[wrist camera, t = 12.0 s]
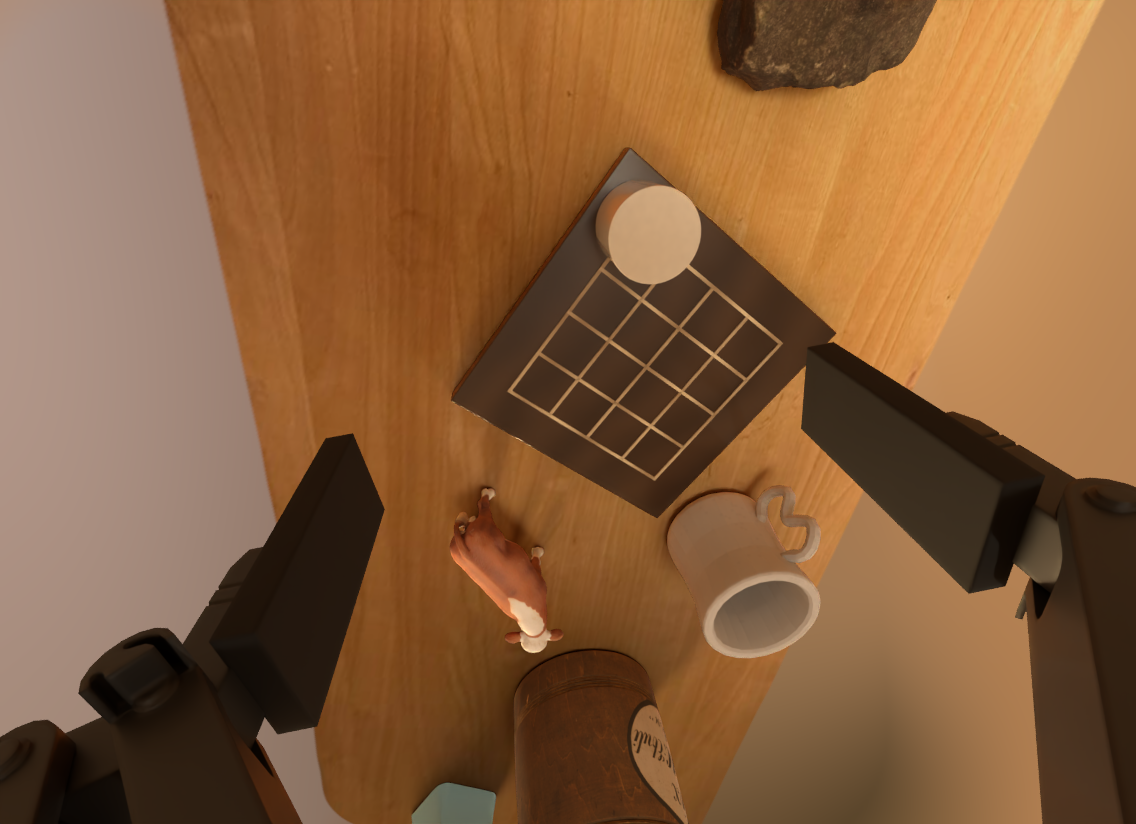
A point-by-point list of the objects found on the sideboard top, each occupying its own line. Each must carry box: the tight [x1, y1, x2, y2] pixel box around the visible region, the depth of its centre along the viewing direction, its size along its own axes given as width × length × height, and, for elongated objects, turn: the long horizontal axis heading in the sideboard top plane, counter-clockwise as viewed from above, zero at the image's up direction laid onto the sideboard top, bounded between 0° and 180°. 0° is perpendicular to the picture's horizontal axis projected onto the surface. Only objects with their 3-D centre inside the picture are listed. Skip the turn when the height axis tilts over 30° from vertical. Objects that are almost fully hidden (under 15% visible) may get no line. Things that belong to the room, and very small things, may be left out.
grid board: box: [451, 148, 836, 518], centre depth 38 cm, size 20×20×1 cm
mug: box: [667, 485, 821, 658], centre depth 42 cm, size 12×9×10 cm
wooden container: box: [514, 650, 689, 824], centre depth 46 cm, size 15×15×22 cm
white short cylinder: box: [595, 180, 701, 284], centre depth 30 cm, size 5×5×4 cm
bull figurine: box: [450, 488, 564, 653], centre depth 41 cm, size 4×13×8 cm, turn 25°
